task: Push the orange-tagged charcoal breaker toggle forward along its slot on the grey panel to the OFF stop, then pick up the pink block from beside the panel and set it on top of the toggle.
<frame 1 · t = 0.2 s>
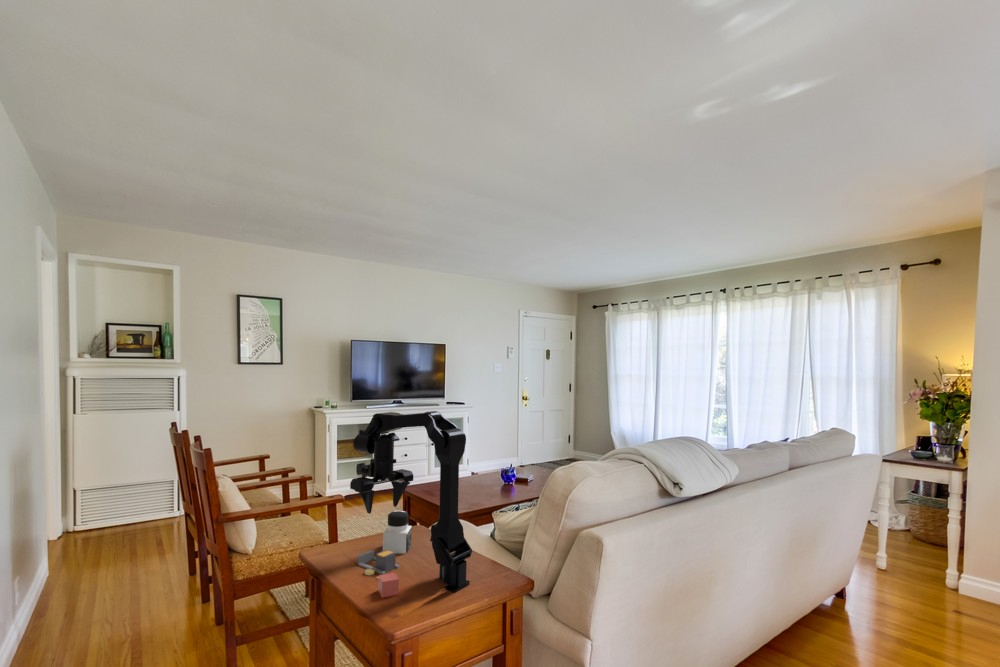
hand: (382, 509, 145), 14 cm above the table, tool pointing down, fingers open, 9 cm apart
breaker: (385, 560, 135), point 3 cm above the table, slide at 0.0 cm
medicine bottle: (397, 553, 149), on the table
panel: (378, 574, 134), on the table
pink block: (388, 598, 121), on the table
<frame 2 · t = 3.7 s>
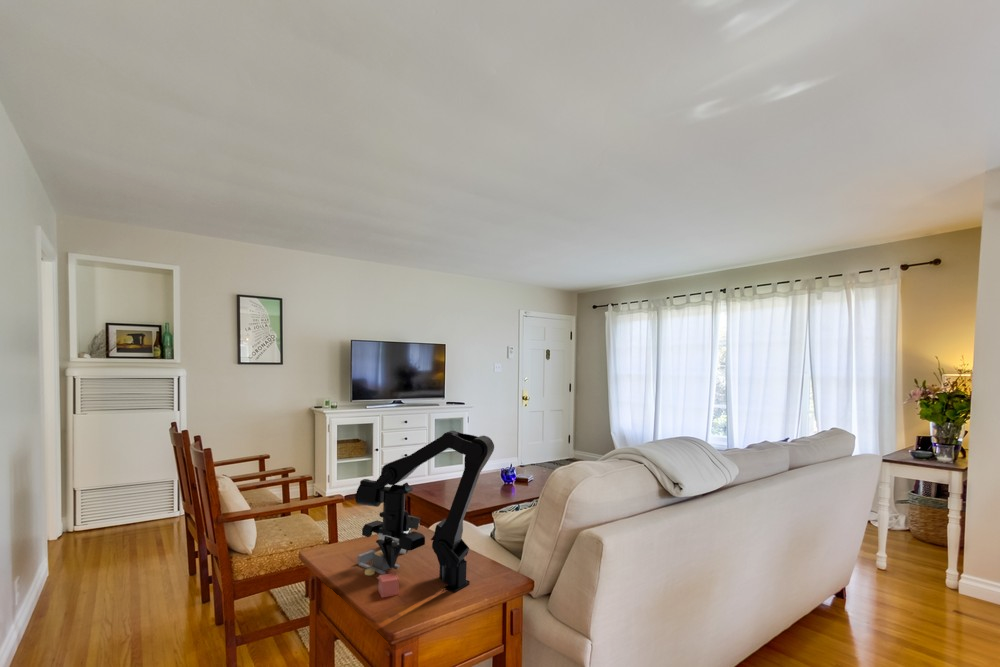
hand: (391, 567, 133), 2 cm above the table, tool pointing down, fingers closed
breaker: (382, 559, 135), point 3 cm above the table, slide at 1.2 cm, touching gripper
everything else where it was.
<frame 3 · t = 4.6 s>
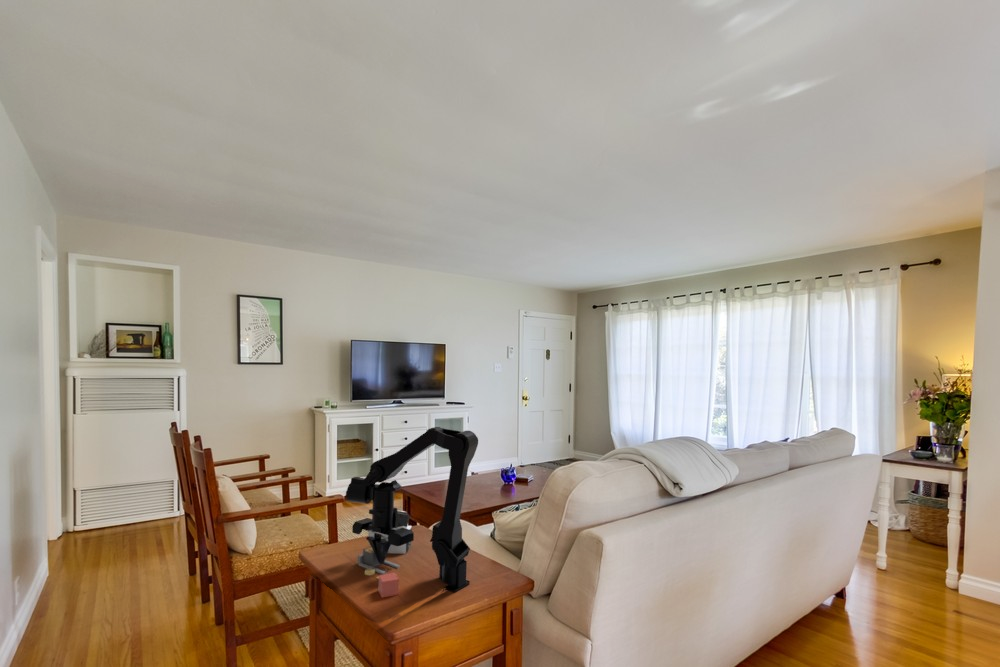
hand: (381, 563, 135), 2 cm above the table, tool pointing down, fingers closed
breaker: (372, 556, 138), point 3 cm above the table, slide at 5.1 cm, touching gripper
everything else where it was.
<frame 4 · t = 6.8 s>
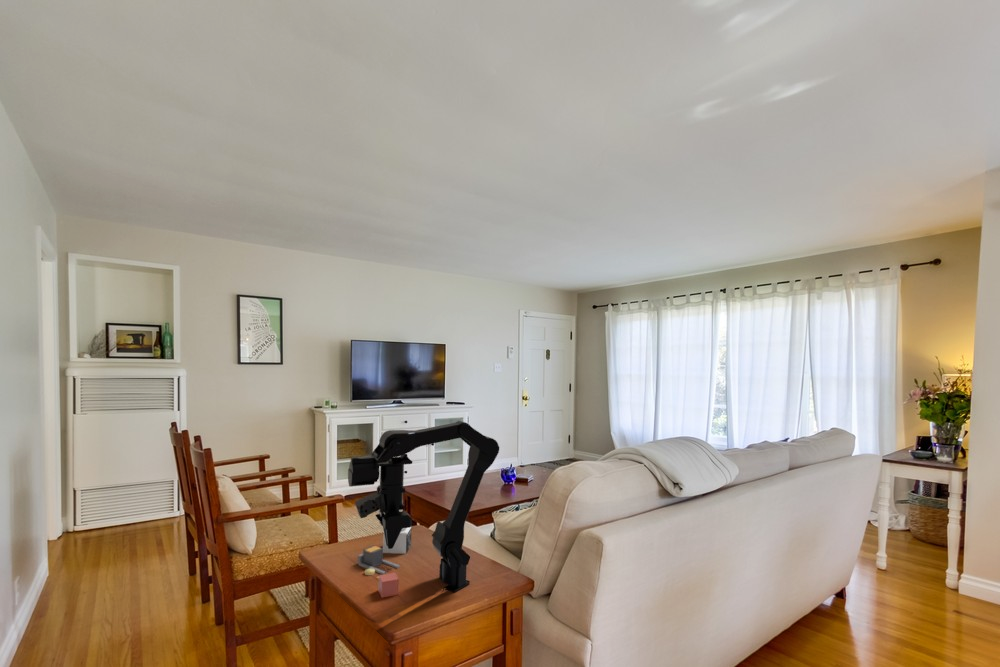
hand: (389, 547, 122), 12 cm above the table, tool pointing down, fingers closed
breaker: (372, 556, 138), point 3 cm above the table, slide at 5.0 cm
everything else where it was.
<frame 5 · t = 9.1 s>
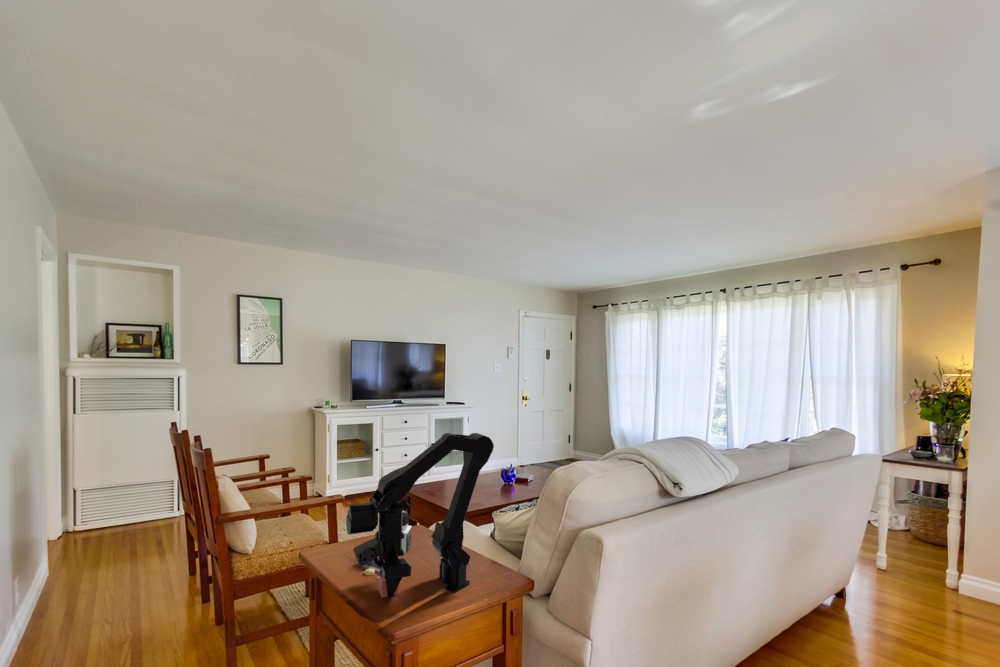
hand: (388, 593, 121), 1 cm above the table, tool pointing down, fingers closed on pink block, 4 cm apart
pink block: (388, 597, 121), on the table, touching gripper
everything else where it was.
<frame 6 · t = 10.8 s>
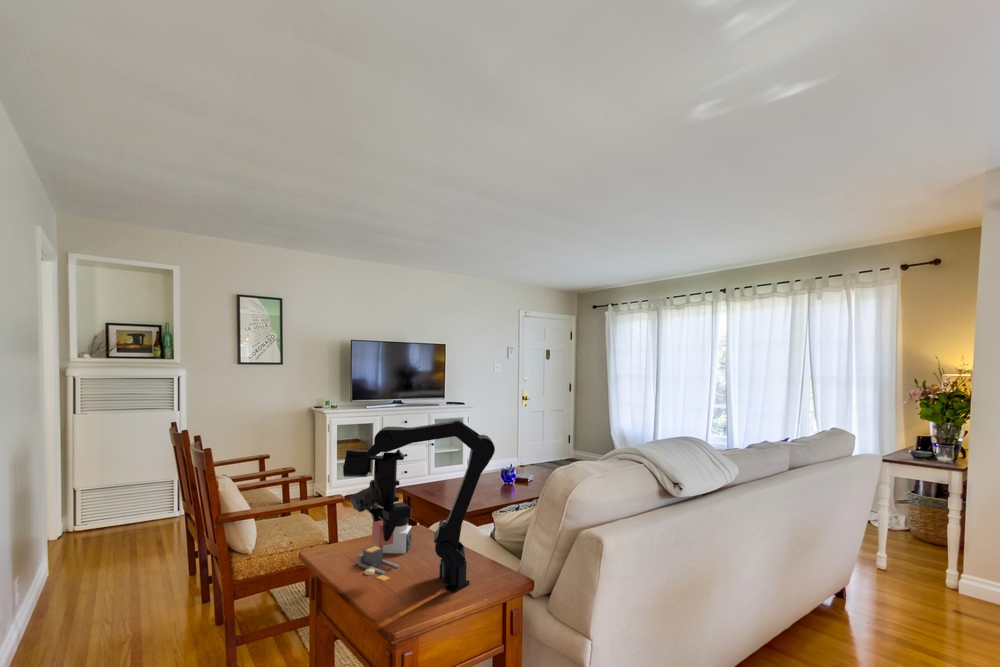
hand: (382, 538, 127), 12 cm above the table, tool pointing down, fingers closed on pink block, 4 cm apart
pink block: (382, 542, 127), point 11 cm above the table, touching gripper
everything else where it was.
when the fingers open (7 cm above the table, at t = 12.6 s): pink block drops 1 cm, resting on breaker.
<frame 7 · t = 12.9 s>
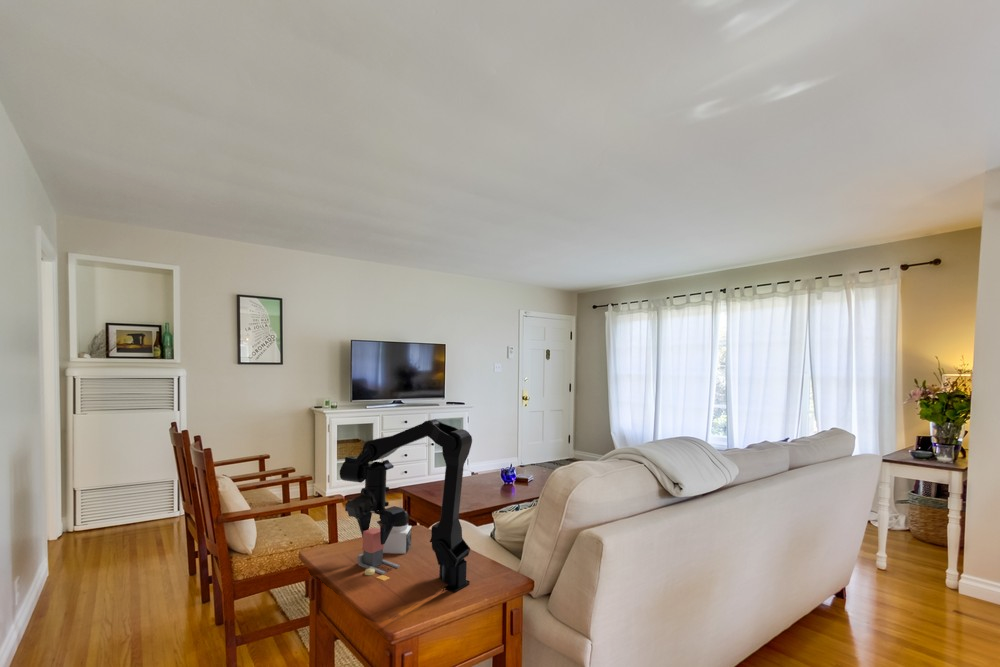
hand: (373, 541, 138), 7 cm above the table, tool pointing down, fingers open, 7 cm apart
breaker: (372, 556, 138), point 3 cm above the table, slide at 5.0 cm, touching pink block
pink block: (373, 549, 138), point 5 cm above the table, touching breaker
everything else where it was.
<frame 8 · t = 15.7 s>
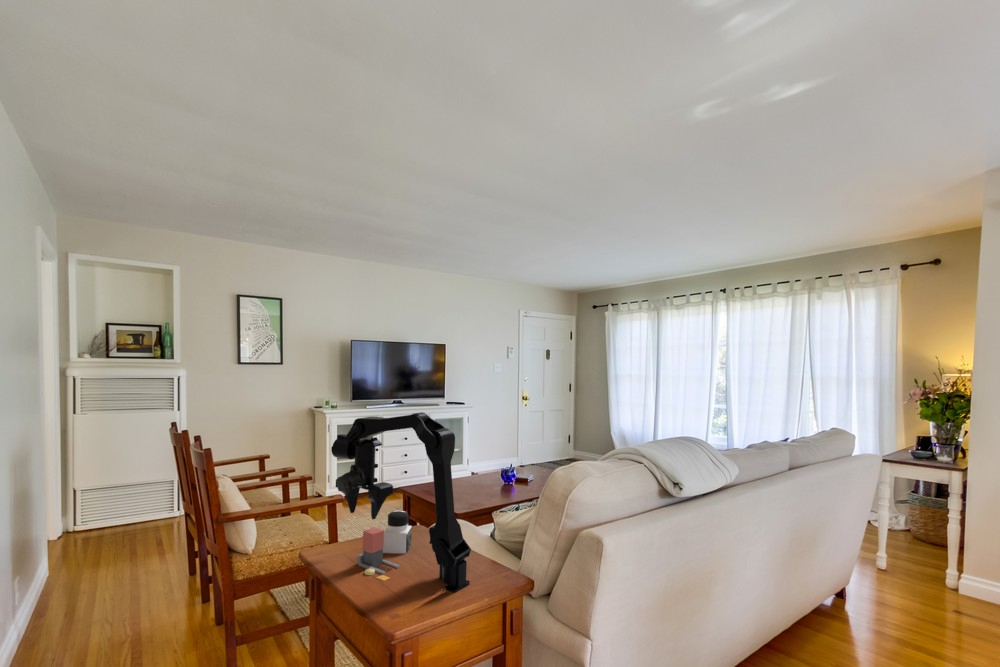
hand: (362, 515, 142), 13 cm above the table, tool pointing down, fingers open, 9 cm apart
nothing on the table moved.
at the end: breaker slide at 5.0 cm; pink block 0.1 cm off-centre on the breaker, point 4.0 cm above the breaker's base; pink block tilted 0° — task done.
